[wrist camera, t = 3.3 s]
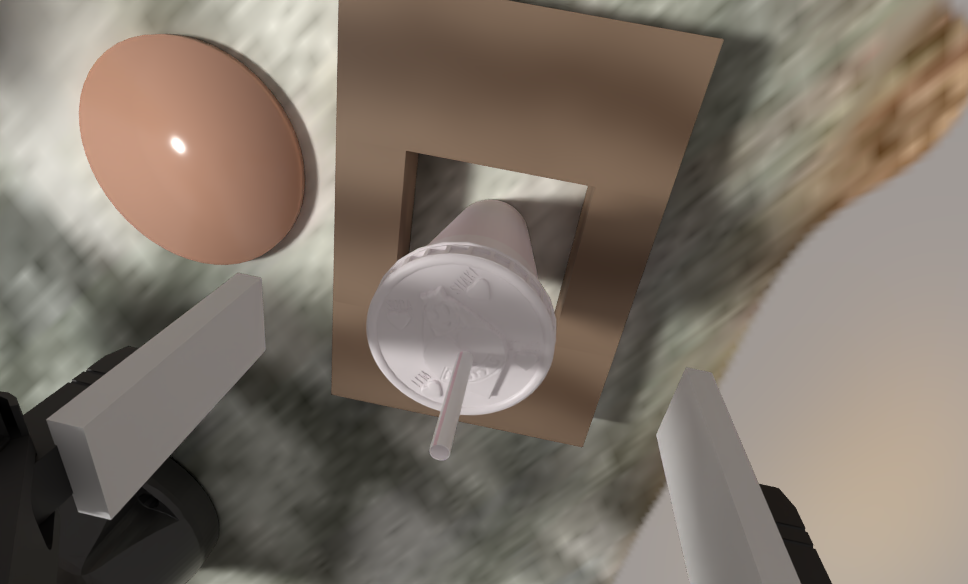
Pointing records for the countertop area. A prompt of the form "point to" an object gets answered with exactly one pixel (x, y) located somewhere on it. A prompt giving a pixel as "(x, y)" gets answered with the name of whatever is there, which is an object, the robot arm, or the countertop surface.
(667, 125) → the frame
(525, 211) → the countertop surface
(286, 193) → the glossy peach dome
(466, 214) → the smoothie
